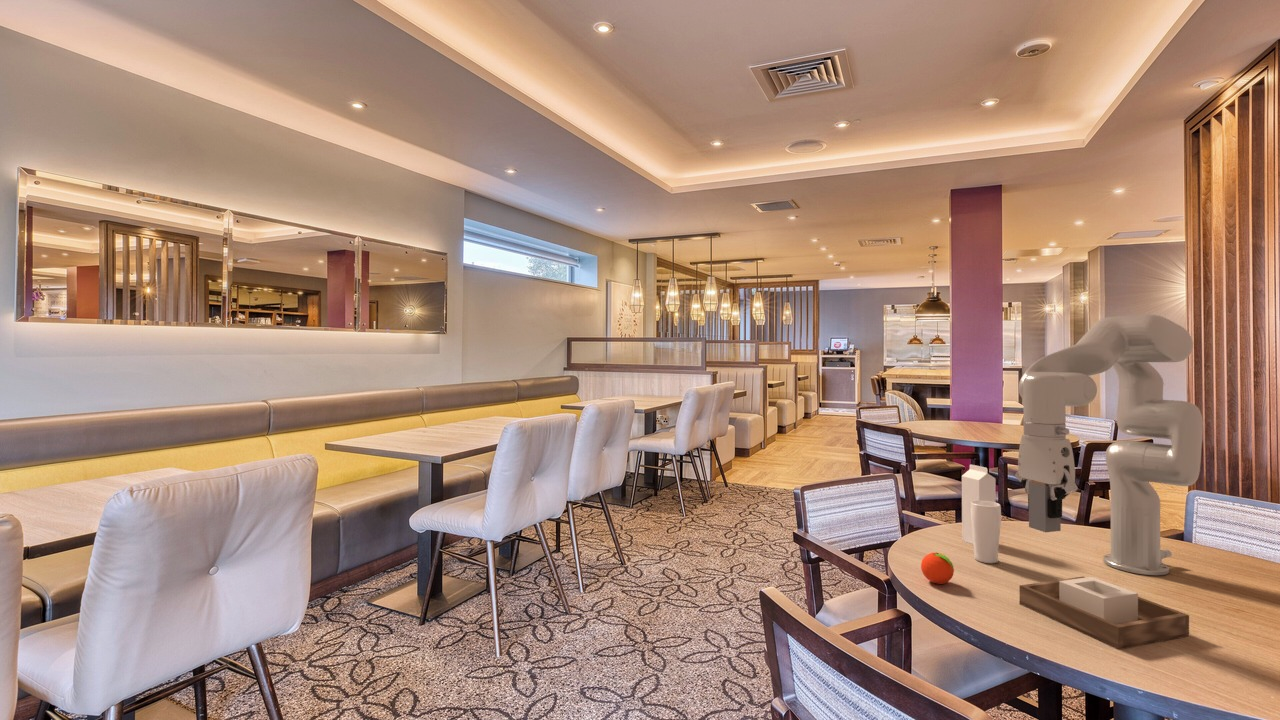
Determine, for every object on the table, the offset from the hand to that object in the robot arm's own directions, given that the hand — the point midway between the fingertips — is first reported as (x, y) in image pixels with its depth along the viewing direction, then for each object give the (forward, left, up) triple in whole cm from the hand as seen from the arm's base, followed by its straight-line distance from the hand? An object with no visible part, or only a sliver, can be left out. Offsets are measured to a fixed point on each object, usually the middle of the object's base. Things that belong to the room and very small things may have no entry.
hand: (1044, 513), depth 125 cm
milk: (-18, -35, -19) cm, 44 cm away
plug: (0, 0, -3) cm, 3 cm away
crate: (-2, +10, -19) cm, 22 cm away
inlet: (-3, +9, -19) cm, 21 cm away
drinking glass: (-8, -23, -19) cm, 31 cm away
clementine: (+15, -14, -19) cm, 28 cm away
